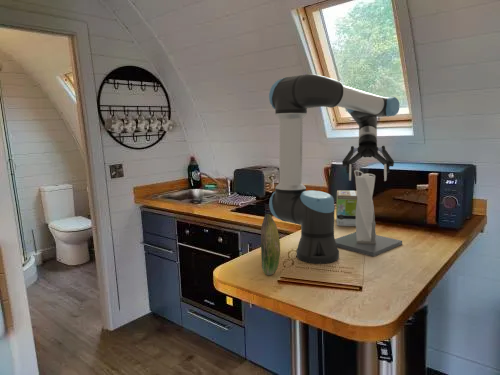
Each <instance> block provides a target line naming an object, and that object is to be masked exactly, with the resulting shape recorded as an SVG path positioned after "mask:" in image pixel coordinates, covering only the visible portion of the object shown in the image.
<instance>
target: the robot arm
mask: <svg viewBox="0 0 500 375" xmlns="http://www.w3.org/2000/svg"><path fill="white" fill-rule="evenodd" d="M268 99H269V103H270V105H271V107H272V108H273V109H274V110H275V113H274V115H275V116H276V117H277V119H279V123H278V124H279V128H278V130H279V134H278V135H279V136H278V137H279V138H278V140H279V143H278V144H279V146H278V147H279V148H278V149H279V153H278V154H279V155H278V156H279V157H278V158H279V160H278V161H279V163H278V164H279V168H278V169H279V170H278V172H279V173H278V174H279V175H278V176H279V177H278V179H279V180H278V181H279V183H278V184H276V186H275V187H274V188H275V191H273V193H272V194H271V196H270V198H269V203H268V204H269V205H268V206H269V211H270V213H271V215H273V217H274V218H276V219H277V220H280V221H282V222H285V223H291V224H295V225H300V228H301V229H300V230H301V231H300V233H301V234H300V235H301V236H300V239H299V242H298V245H297V248H296V258H297V259H298V260H300V261H301V262H305V263H309V264H329V263H335V262H336V261H338V260H339V258H340V251H339V247H337V244H336V241H335V239H336V238H335V211H336V210H335V208H336V207H335V206H336V205H335V199H334V196H333V195H331V194H330V193H328V192H326V191H325V192H324V191H321V190H307V188H306V186H305V185H304V183H303V124H304V123H303V122H304V120H303V119H304V118H305V117H306V116H307V114H308V109H313V108H321V107H323V108H325V107H326V108H335V107H339V108H344V109H345V110H346V111H347V113H348V114H349V115H350V116H351V117H352V119H353V120H354V121H355V123H356V124H357V125H358V146H357V147H355V146H353V145H352V146H350V150H349V152H348V153H347V154H346V155H345V157H344V158H343V159H342V163H341V164H342V167H346V174H348V181H352V165H354V164H355V163H356V162H357V161H359V160H361V159H362V158H374V159H375V160H377V161H378V162H380V164H382V165H383V176H384V177H383V178H384V179H383V181H384V182H386V181H387V180H388V177H387V176H388V174H389V173H390V168H391V167H394V166H395V161H394V159H393V158H392V157H391V155H390V154H389V152H388V151H387V150H386V146H385V145H382V146H381V147H378V130H377V129H378V128H377V127H378V125H377V124H378V123H377V122H378V117H380V118H381V117H394V116H396V115H397V114H398V113H399V111H400V101H399V99H398V98H397V97H396V96H387V97H385V96H382V95H376V94H373V93H372V92H371V93H370V92H366V91H364V90H361V89H356V88H354V87H351V86H348V85H343V83H342V82H341V81H340V80H337V79H334V78H330V77H327V76H323V75H319V74H315V73H307V74H303V75H293V76H286V77H285V76H284V77H283V78H280V79H278V80H276V81H275V82H274V83H273V84H272V85H271V87H270V89H269V93H268ZM356 152H357V153H356ZM355 153H356V154H355ZM380 153H381V154H380ZM354 154H355V155H354Z"/></svg>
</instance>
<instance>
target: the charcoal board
mask: <svg viewBox="0 0 500 375" xmlns="http://www.w3.org/2000/svg"><path fill="white" fill-rule="evenodd" d="M375 238H376V244H358V243H357V235H356V231H355V232H352V233H349V234H346V235H343V236H340V237H336V238H335V241H336V244H337V248H338V249H339V248H341V249H343V250H346V251H347V250H348V251H351V252H355V253H359V254H361V255H367V256H370V257H376V256H378V255H381V254H383V253H386V252H388V251H390V250H392V249H394V248H397V247H399V246H402V245H403V240H400V239H398V238H397V239H395V238H391V237H387V236H383V235H378V234H376V237H375Z"/></svg>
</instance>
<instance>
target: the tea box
mask: <svg viewBox="0 0 500 375" xmlns="http://www.w3.org/2000/svg"><path fill="white" fill-rule="evenodd" d="M335 201H336V203H335V204H336V205H335V206H336V207H335V208H336V210H335V211H336V213H335V214H336V216H335V218H336V226H340V227H356V204H357V191H356V190H337V191H336V200H335Z"/></svg>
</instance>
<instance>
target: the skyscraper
mask: <svg viewBox="0 0 500 375" xmlns="http://www.w3.org/2000/svg"><path fill="white" fill-rule="evenodd" d="M353 172H354V177H355V189H356V190H355V191H357V204H356V226H355V232H356V235H357V243H358V244H376V238H375V237H376V235H377V232H376V225H377V224H376V223H377V222H376V220H375V219H376V216H375V208H374V207H375V206H374V200H373V195H374V190H375V183H376V175H375V174H373V173H367V172H366V173H364V172H363V171H361V170H358V169H356V170H354V171H353ZM356 172H359V173H361V175H357V174H356Z"/></svg>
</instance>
